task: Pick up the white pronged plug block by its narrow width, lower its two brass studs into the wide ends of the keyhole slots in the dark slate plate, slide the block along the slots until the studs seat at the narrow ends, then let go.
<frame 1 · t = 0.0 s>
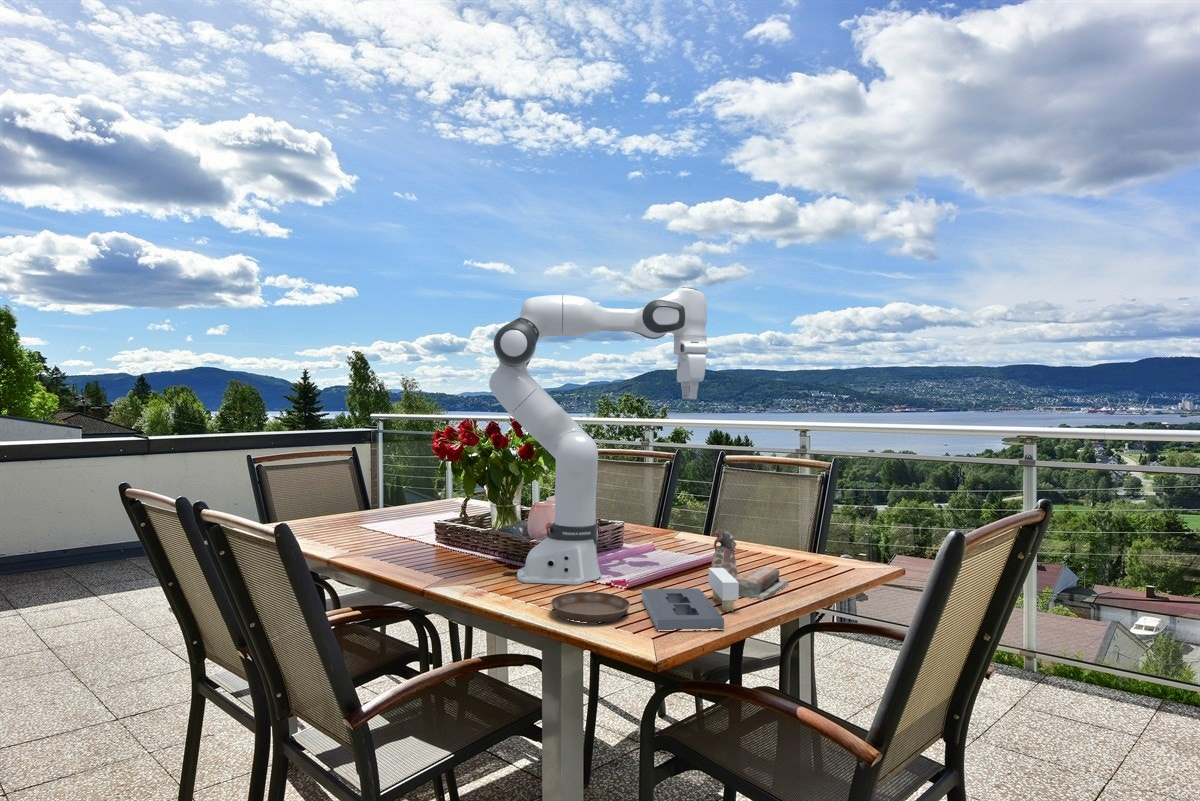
hand: (689, 399, 199), 48 cm above the table, tool pointing down, fingers open, 8 cm apart
packaged product: (758, 592, 186), on the table
plant saucer: (590, 616, 164), on the table
figurine: (724, 575, 201), on the table
keyhole plate: (679, 614, 164), on the table
white pronged plug block: (722, 604, 172), on the table
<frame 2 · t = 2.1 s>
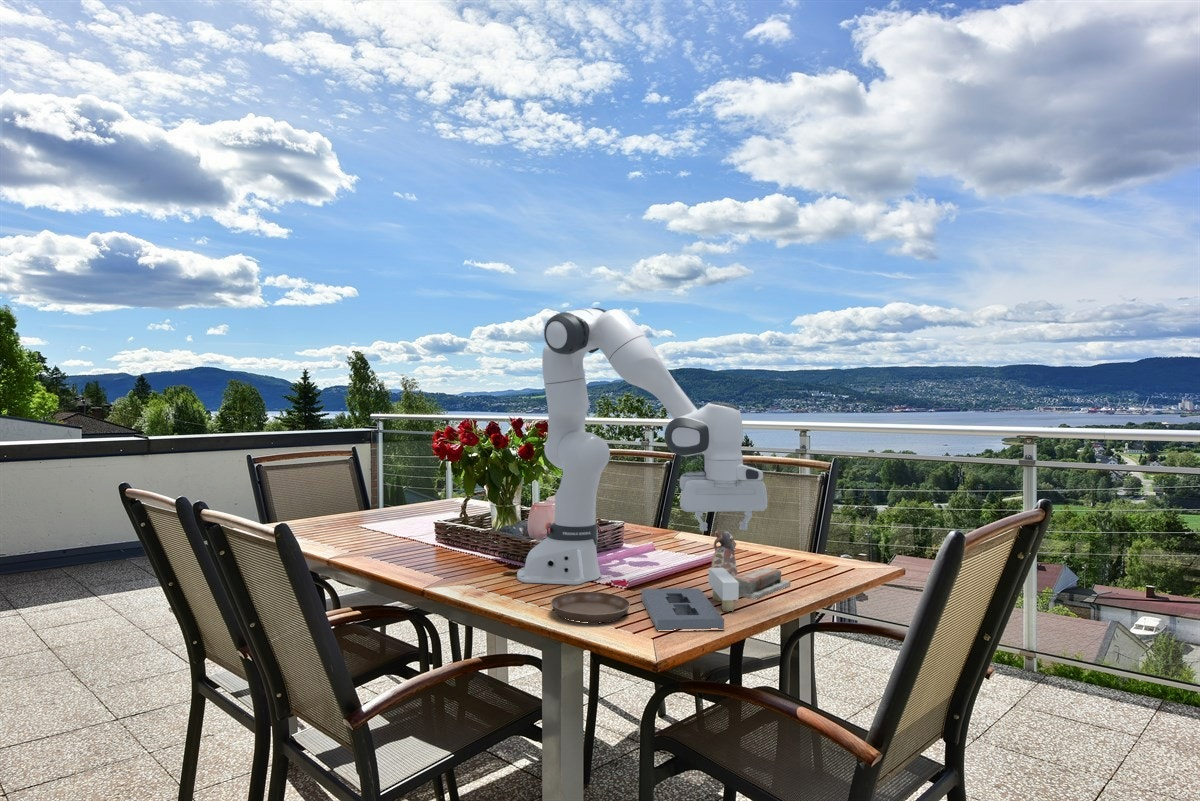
hand: (723, 530, 172), 17 cm above the table, tool pointing down, fingers open, 8 cm apart
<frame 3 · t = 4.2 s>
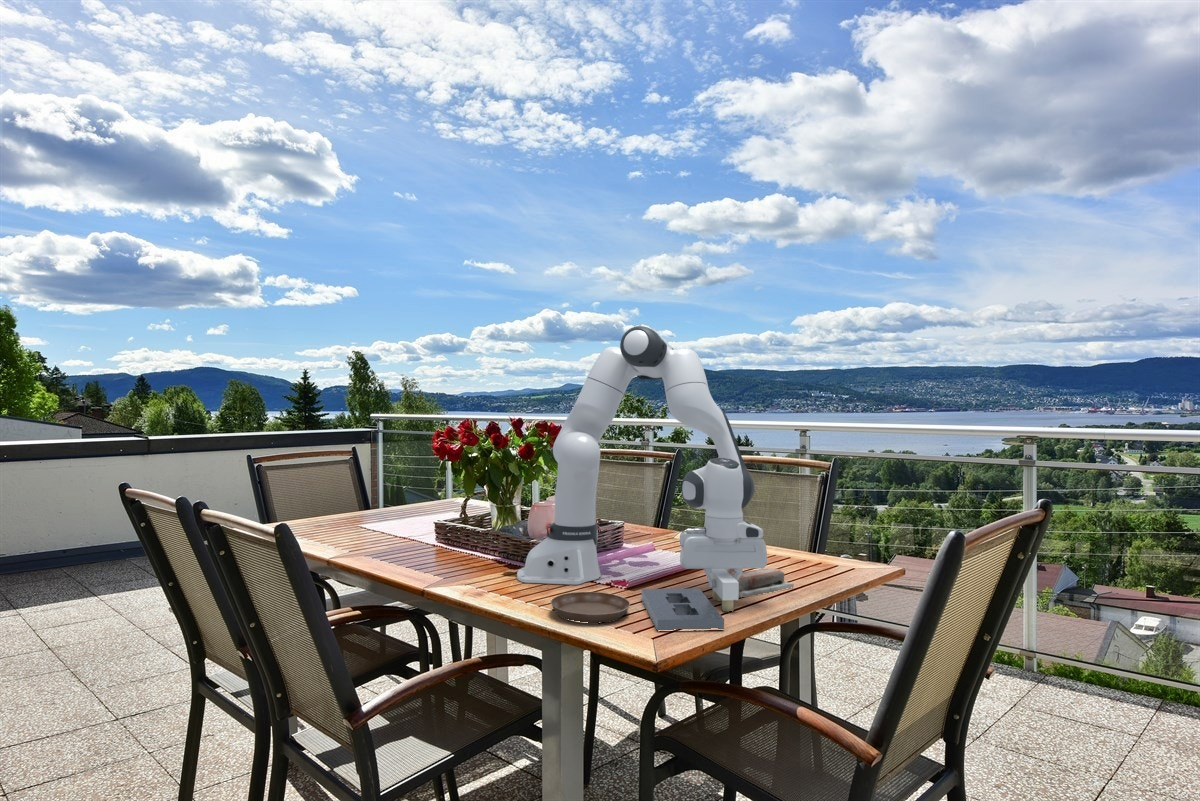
hand: (722, 587, 172), 4 cm above the table, tool pointing down, fingers closed on white pronged plug block, 4 cm apart
white pronged plug block: (722, 604, 172), on the table, touching gripper
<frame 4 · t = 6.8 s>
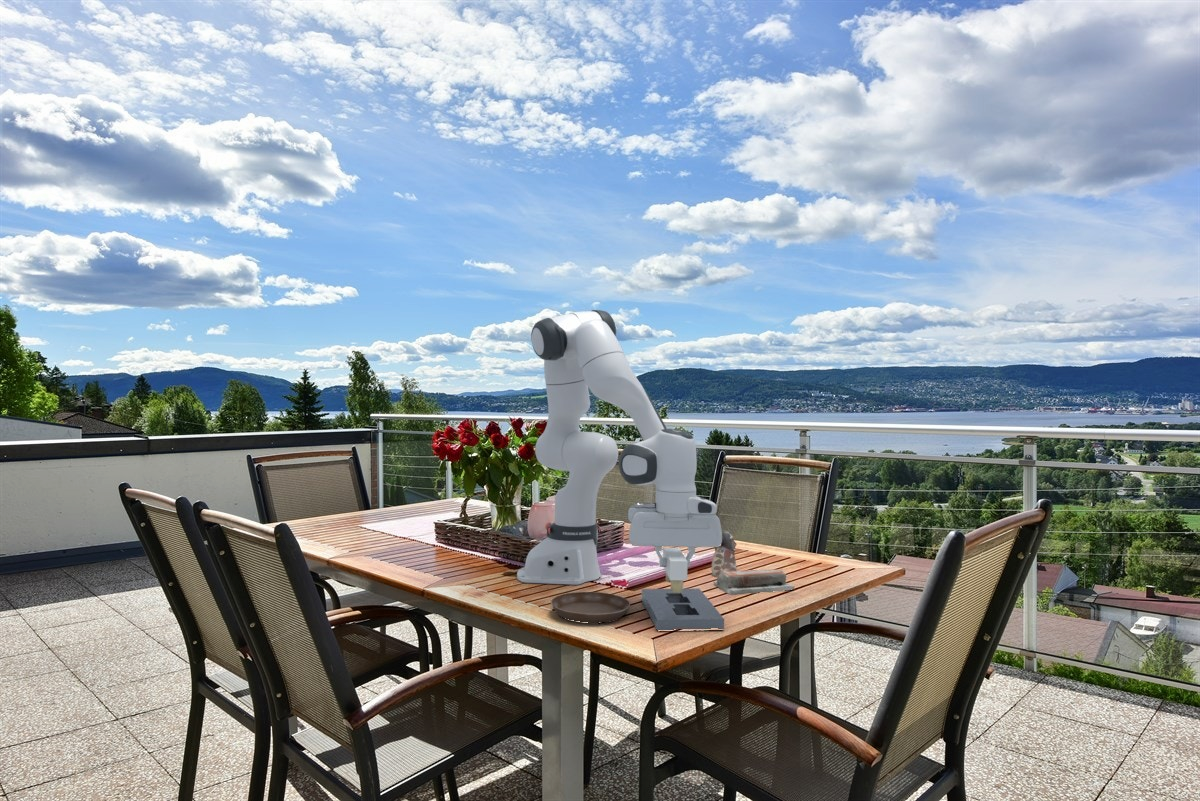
hand: (674, 566, 161), 11 cm above the table, tool pointing down, fingers closed on white pronged plug block, 4 cm apart
white pronged plug block: (674, 586, 161), point 7 cm above the table, touching gripper
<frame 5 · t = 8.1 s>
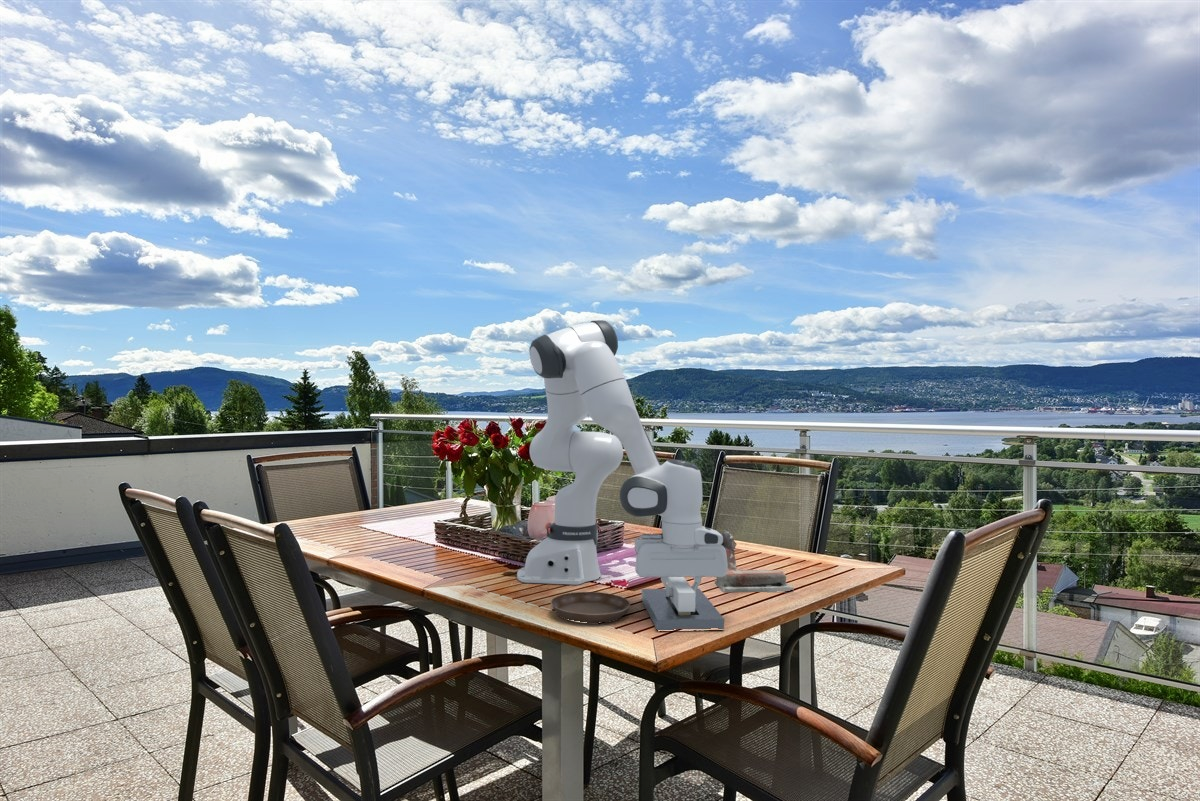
hand: (680, 596, 162), 5 cm above the table, tool pointing down, fingers closed on white pronged plug block, 4 cm apart
white pronged plug block: (680, 615, 162), resting in keyhole plate, touching gripper
when the fingers open (4 cm above the table, at t = 9.4 s): white pronged plug block stays where it is, resting in keyhole plate.
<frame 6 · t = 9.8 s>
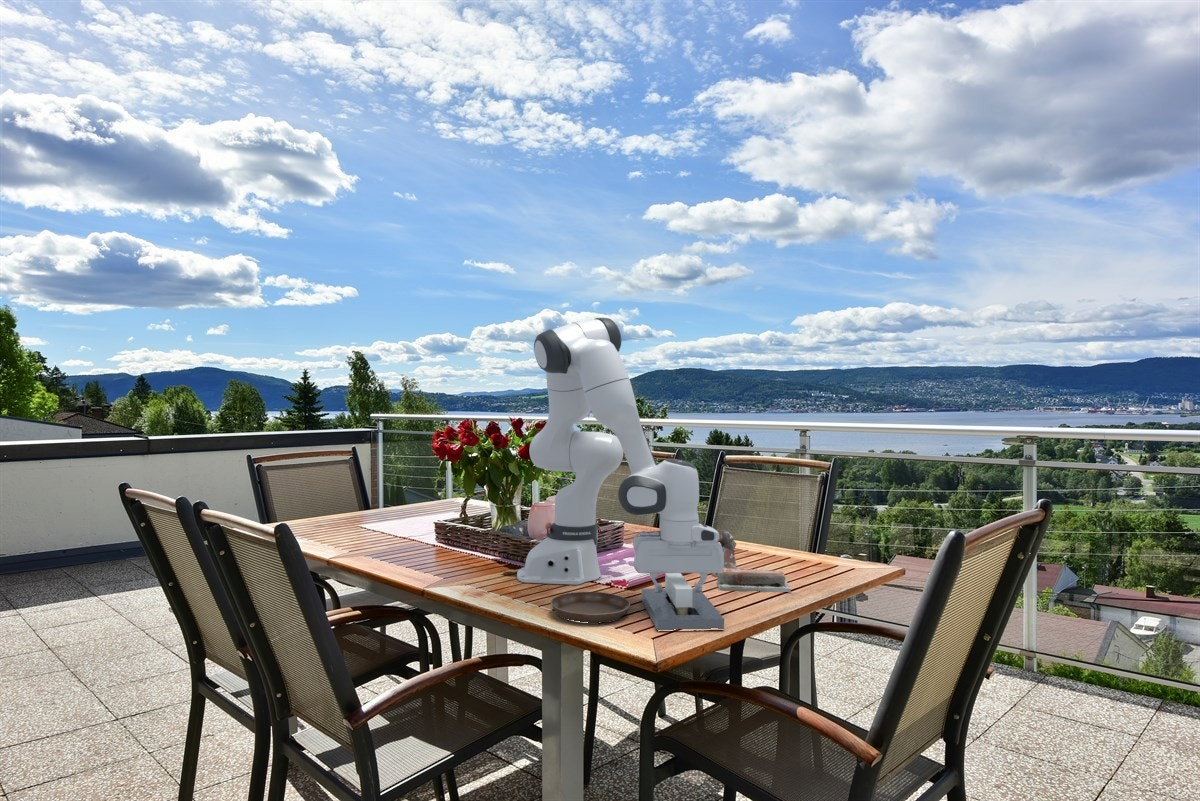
hand: (678, 592, 166), 4 cm above the table, tool pointing down, fingers open, 8 cm apart
white pronged plug block: (677, 611, 166), resting in keyhole plate
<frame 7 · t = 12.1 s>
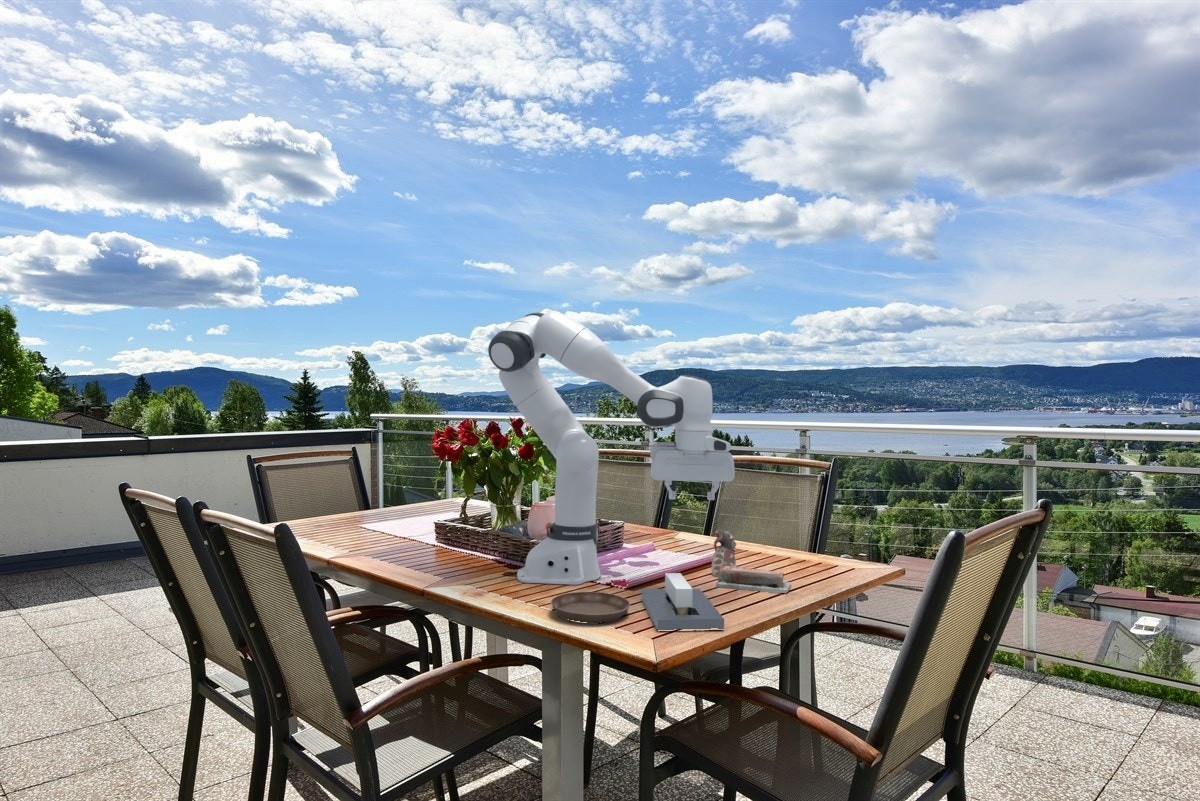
hand: (691, 499, 178), 24 cm above the table, tool pointing down, fingers open, 8 cm apart
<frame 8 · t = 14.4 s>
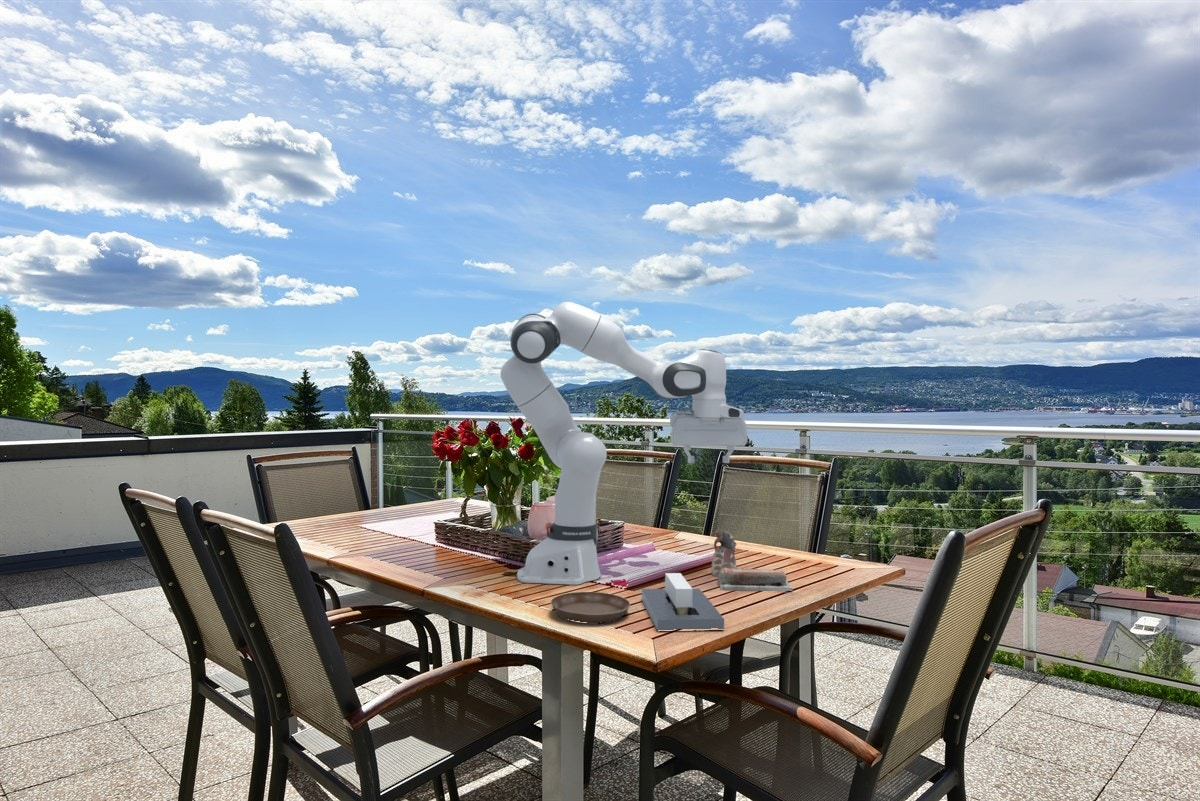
hand: (708, 462, 195), 31 cm above the table, tool pointing down, fingers open, 8 cm apart
at the end: white pronged plug block 0.5 cm from the target spot on the keyhole plate, point 0.0 cm above the keyhole plate's base; white pronged plug block tilted 0°; the gripper is holding nothing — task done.
